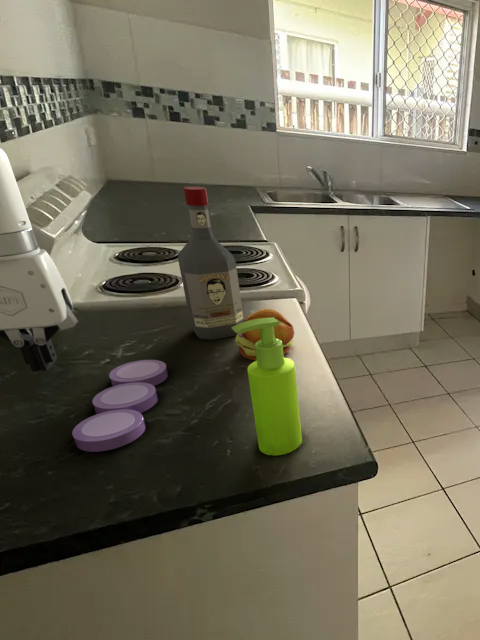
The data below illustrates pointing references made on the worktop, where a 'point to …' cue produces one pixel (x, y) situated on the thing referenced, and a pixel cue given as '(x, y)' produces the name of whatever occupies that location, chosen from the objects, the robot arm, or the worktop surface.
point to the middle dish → (126, 398)
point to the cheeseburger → (251, 337)
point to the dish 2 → (139, 372)
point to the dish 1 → (108, 430)
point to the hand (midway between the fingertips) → (44, 366)
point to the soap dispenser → (273, 391)
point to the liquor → (208, 275)
